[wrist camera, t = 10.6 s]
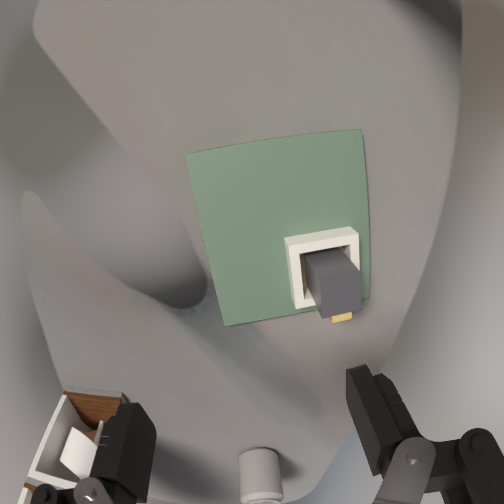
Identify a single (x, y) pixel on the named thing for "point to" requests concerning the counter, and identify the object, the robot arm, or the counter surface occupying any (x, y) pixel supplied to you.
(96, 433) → the white tall box
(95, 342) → the counter surface
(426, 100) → the counter surface
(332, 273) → the plug
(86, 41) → the counter surface
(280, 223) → the board
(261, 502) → the can
